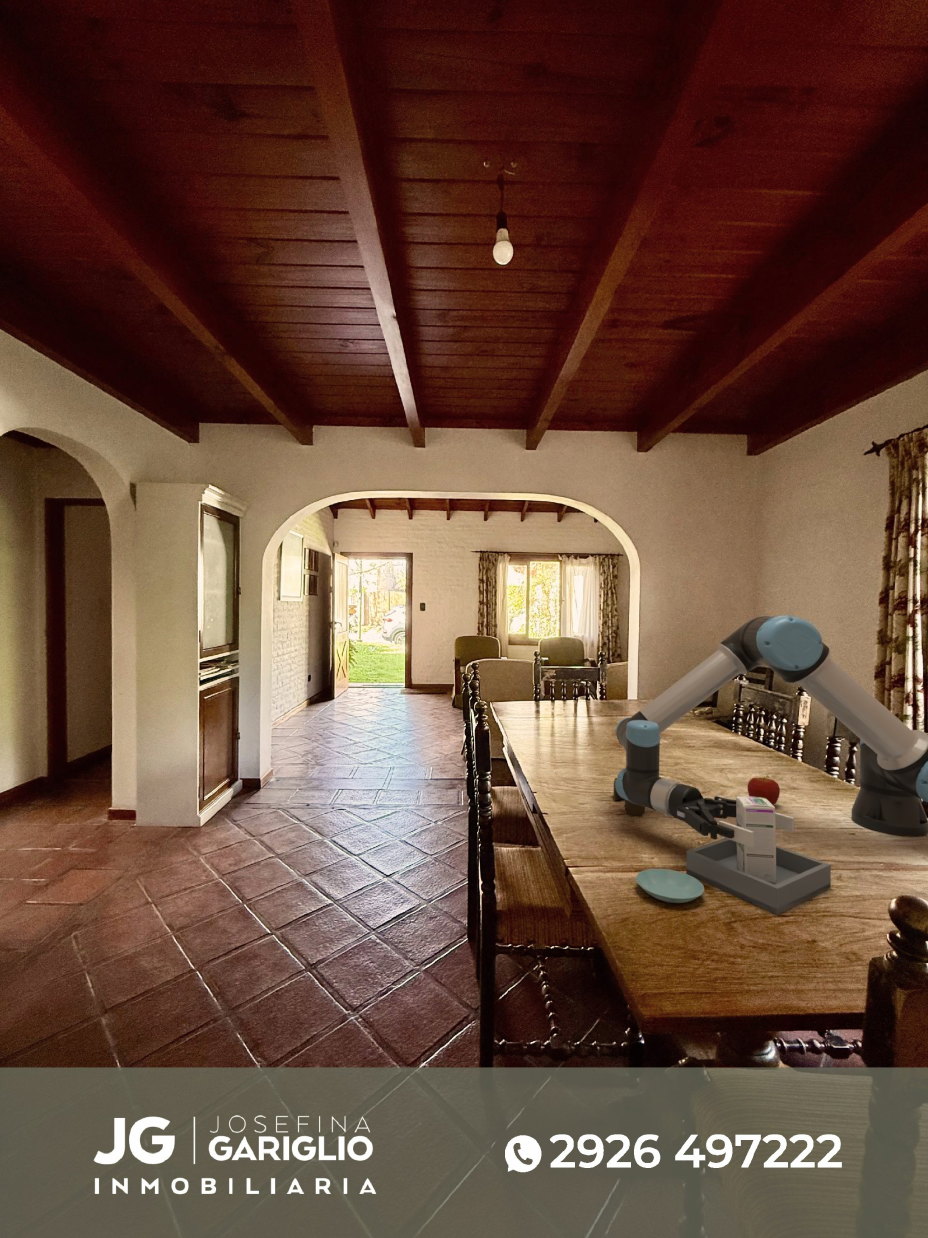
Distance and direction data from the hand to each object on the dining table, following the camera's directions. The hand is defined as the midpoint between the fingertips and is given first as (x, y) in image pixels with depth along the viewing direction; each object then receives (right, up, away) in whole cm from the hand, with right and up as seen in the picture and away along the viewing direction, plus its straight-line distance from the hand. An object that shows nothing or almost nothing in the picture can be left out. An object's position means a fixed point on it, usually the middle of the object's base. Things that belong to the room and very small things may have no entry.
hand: (773, 832), depth 105 cm
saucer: (-20, -11, -2) cm, 23 cm away
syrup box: (-2, -10, +3) cm, 10 cm away
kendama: (-12, -11, +47) cm, 50 cm away
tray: (-2, -10, +3) cm, 11 cm away
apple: (+23, -11, +46) cm, 53 cm away
